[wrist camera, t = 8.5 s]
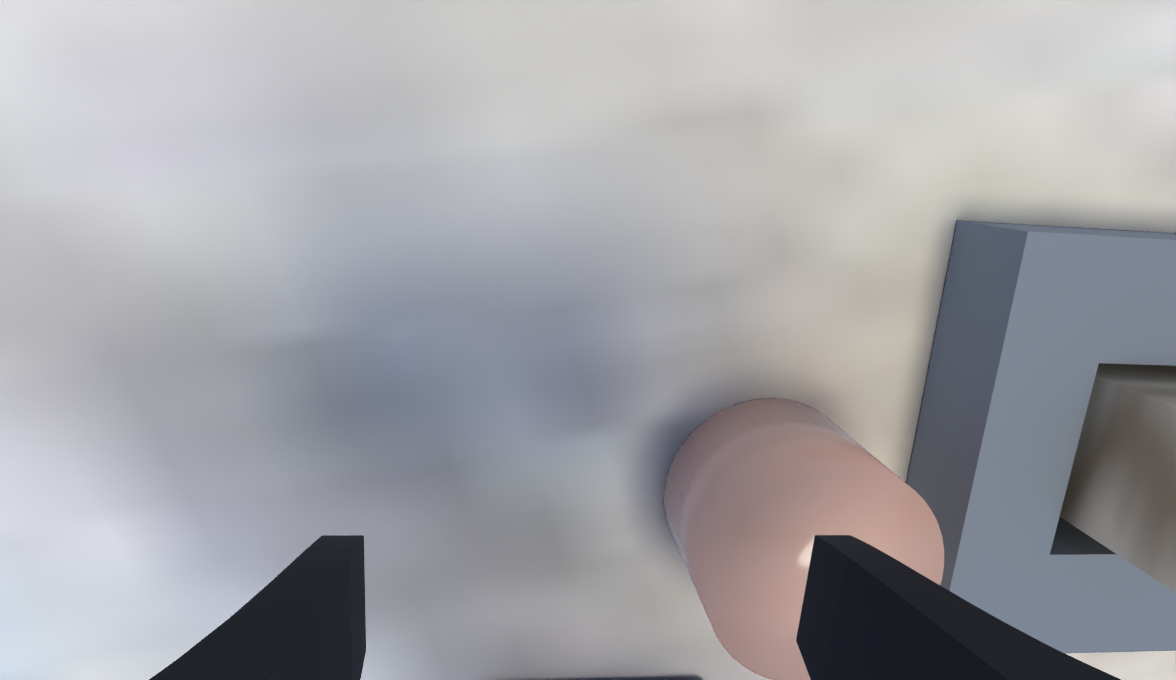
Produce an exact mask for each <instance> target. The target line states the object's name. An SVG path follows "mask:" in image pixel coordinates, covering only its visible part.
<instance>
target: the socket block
mask: <svg viewBox="0 0 1176 680" xmlns="http://www.w3.org/2000/svg"><path fill="white" fill-rule="evenodd" d="M1099 363H1108V364H1140V365H1172V366H1176V233H1161V232H1144V231H1127V230H1110V229H1092V228H1075V227H1058V226H1041V225H1023V224H1006V223H989V222H972V221H957V224H956V230H955V235H954V240H953V245H952V250H951V255H950V261H949V266H948V271H947V276H946V281H945V286H944V292H943V297H942V302H941V307H940V312H939V318H938V323H937V328H936V333H935V338H934V343H933V349H932V354H931V359H930V364H929V369H928V374H927V380H926V385H925V390H924V395H923V400H922V405H921V411H920V416H919V421H918V426H917V431H916V437H915V442H914V447H913V452H912V457H911V462H910V468H909V473H908V478H907V483H906V484H908V485H909V486H910V487H911V488H913V489H914V490H915V491H916V492H917V493H918V494H919V495H920V496H921V497H922V498H923V499H924V500H925V502H926V503H927V505H928V506H929V507H930V509H931V510H932V512H933V514H934V516H935V518H936V520H937V522H938V524H939V528H940V531H941V534H942V538H943V545H944V569H943V576H942V581H941V584H940V586H942V587H944V588H945V589H947V590H949V591H950V592H952V593H954V594H956V595H957V596H959V597H961V598H962V599H964V600H966V601H968V602H969V603H971V604H973V605H975V606H976V607H978V608H980V609H982V610H983V611H985V612H987V613H989V614H991V615H992V616H994V617H996V618H998V619H1000V620H1001V621H1003V622H1005V623H1007V624H1009V625H1011V626H1013V627H1014V628H1016V629H1018V630H1020V631H1022V632H1024V633H1026V634H1028V635H1029V636H1031V637H1033V638H1035V639H1037V640H1039V641H1041V642H1043V643H1045V644H1046V645H1048V646H1050V647H1052V648H1054V649H1056V650H1058V651H1060V652H1062V653H1096V652H1135V651H1174V650H1176V593H1175V592H1173V591H1172V590H1170V589H1169V588H1167V587H1166V586H1164V585H1163V584H1161V583H1160V582H1158V581H1157V580H1155V579H1154V578H1152V577H1151V576H1149V575H1148V574H1146V573H1145V572H1143V571H1142V570H1140V569H1139V568H1137V567H1135V566H1134V565H1132V564H1131V563H1129V562H1128V561H1126V560H1125V559H1123V558H1122V557H1120V556H1119V555H1117V554H1116V553H1114V552H1113V551H1111V550H1110V549H1108V548H1107V547H1105V546H1104V545H1102V544H1100V543H1099V542H1097V541H1096V540H1094V539H1093V538H1091V537H1090V536H1088V535H1087V534H1085V533H1084V532H1082V531H1081V530H1079V529H1078V528H1076V527H1075V526H1073V525H1072V524H1070V523H1069V522H1067V521H1066V520H1064V519H1062V518H1061V517H1060V513H1061V509H1062V505H1063V501H1064V497H1065V493H1066V489H1067V485H1068V482H1069V478H1070V474H1071V470H1072V466H1073V462H1074V458H1075V454H1076V450H1077V446H1078V443H1079V439H1080V435H1081V431H1082V427H1083V423H1084V419H1085V415H1086V411H1087V407H1088V403H1089V400H1090V396H1091V392H1092V388H1093V384H1094V380H1095V376H1096V372H1097V368H1098V364H1099Z"/></svg>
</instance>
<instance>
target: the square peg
mask: <svg viewBox="0 0 1176 680" xmlns="http://www.w3.org/2000/svg"><path fill="white" fill-rule="evenodd" d="M1060 517H1061V518H1062V519H1064V520H1066V521H1067V522H1069V523H1070V524H1072V525H1073V526H1075V527H1076V528H1078V529H1079V530H1081V531H1082V532H1084V533H1085V534H1087V535H1088V536H1090V537H1091V538H1093V539H1094V540H1096V541H1097V542H1099V543H1100V544H1102V545H1104V546H1105V547H1107V548H1108V549H1110V550H1111V551H1113V552H1114V553H1116V554H1117V555H1119V556H1120V557H1122V558H1123V559H1125V560H1126V561H1128V562H1129V563H1131V564H1132V565H1134V566H1135V567H1137V568H1139V569H1140V570H1142V571H1143V572H1145V573H1146V574H1148V575H1149V576H1151V577H1152V578H1154V579H1155V580H1157V581H1158V582H1160V583H1161V584H1163V585H1164V586H1166V587H1167V588H1169V589H1170V590H1172V591H1173V592H1175V593H1176V366H1172V365H1140V364H1108V363H1099V364H1098V368H1097V372H1096V376H1095V380H1094V384H1093V388H1092V392H1091V396H1090V400H1089V403H1088V407H1087V411H1086V415H1085V419H1084V423H1083V427H1082V431H1081V435H1080V439H1079V443H1078V446H1077V450H1076V454H1075V458H1074V462H1073V466H1072V470H1071V474H1070V478H1069V482H1068V485H1067V489H1066V493H1065V497H1064V501H1063V505H1062V509H1061V513H1060Z"/></svg>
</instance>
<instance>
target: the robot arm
mask: <svg viewBox="0 0 1176 680" xmlns="http://www.w3.org/2000/svg"><path fill="white" fill-rule="evenodd" d="M796 642H797V644H798V647H799V650H800V652H801V655H802V658H803V660H804V663H805V666H806V669H807V671H808V674H809V676H810V679H811V680H1120V679H1118V678H1116V677H1114V676H1112V675H1109V674H1107V673H1105V672H1103V671H1101V670H1099V669H1096V668H1094V667H1092V666H1090V665H1088V664H1086V663H1083V662H1081V661H1079V660H1077V659H1075V658H1073V657H1071V656H1069V655H1067V654H1065V653H1062V652H1060V651H1058V650H1056V649H1054V648H1052V647H1050V646H1048V645H1046V644H1045V643H1043V642H1041V641H1039V640H1037V639H1035V638H1033V637H1031V636H1029V635H1028V634H1026V633H1024V632H1022V631H1020V630H1018V629H1016V628H1014V627H1013V626H1011V625H1009V624H1007V623H1005V622H1003V621H1001V620H1000V619H998V618H996V617H994V616H992V615H991V614H989V613H987V612H985V611H983V610H982V609H980V608H978V607H976V606H975V605H973V604H971V603H969V602H968V601H966V600H964V599H962V598H961V597H959V596H957V595H956V594H954V593H952V592H950V591H949V590H947V589H945V588H944V587H942V586H940V585H938V584H937V583H935V582H933V581H932V580H930V579H928V578H927V577H925V576H923V575H922V574H920V573H918V572H916V571H915V570H913V569H911V568H910V567H908V566H906V565H905V564H903V563H901V562H900V561H898V560H896V559H894V558H893V557H891V556H889V555H887V554H886V553H884V552H882V551H880V550H879V549H877V548H875V547H873V546H871V545H869V544H867V543H865V542H863V541H862V540H859V539H857V538H855V537H853V536H851V535H815V537H814V543H813V548H812V554H811V560H810V565H809V571H808V576H807V582H806V588H805V593H804V599H803V604H802V610H801V616H800V621H799V627H798V632H797V638H796ZM365 652H366V630H365V579H364V536H321V537H320V538H319V539H318V540H317V541H315V542H314V543H313V544H312V545H311V546H310V547H309V548H307V549H306V550H305V551H304V552H303V553H302V554H301V555H300V556H299V557H297V558H296V559H295V560H294V561H293V562H292V563H291V564H290V565H289V566H288V567H287V568H286V569H284V570H283V571H282V572H281V573H280V574H279V575H278V576H277V577H276V578H275V579H274V580H272V581H271V582H270V583H269V584H268V585H267V586H266V587H265V588H264V589H262V590H261V591H260V592H259V593H258V594H257V595H256V596H254V597H253V598H252V599H251V600H250V601H249V602H248V603H246V604H245V605H244V606H243V607H242V608H241V609H240V610H238V611H237V612H236V613H235V614H234V615H233V616H231V617H230V618H229V619H228V620H227V621H225V622H224V623H223V624H222V625H220V626H219V627H218V628H217V629H215V630H214V631H213V632H211V633H210V634H209V635H208V636H206V637H205V638H204V639H203V640H201V641H200V642H199V643H198V644H196V645H195V646H194V647H193V648H191V649H190V650H189V651H188V652H186V653H185V654H184V655H182V656H181V657H180V658H179V659H177V660H176V661H174V662H173V663H172V664H170V665H169V666H168V667H166V668H165V669H164V670H162V671H161V672H159V673H158V674H156V675H155V676H154V677H152V678H151V679H149V680H360V678H361V673H362V668H363V662H364V657H365Z"/></svg>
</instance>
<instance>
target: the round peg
mask: <svg viewBox="0 0 1176 680" xmlns="http://www.w3.org/2000/svg"><path fill="white" fill-rule="evenodd" d="M664 509H665V515H666V519H667V523H668V526H669V528H670V531H671V533H672V535H673V538H674V540H675V542H676V544H677V547H678V549H679V551H680V554H681V556H682V558H683V560H684V563H685V565H686V567H687V570H688V572H689V574H690V577H691V579H692V581H693V583H694V586H695V588H696V590H697V593H698V595H699V597H700V600H701V602H702V604H703V606H704V609H705V611H706V613H707V616H708V618H709V620H710V622H711V625H712V627H713V629H714V632H715V634H716V636H717V638H718V639H719V641H720V642H721V644H722V645H723V647H724V648H725V649H726V650H727V652H728V653H729V654H730V655H731V656H732V657H733V658H734V659H735V660H737V661H738V662H739V663H740V664H741V665H743V666H744V667H746V668H747V669H749V670H751V671H752V672H754V673H756V674H759V675H761V676H763V677H766V678H768V679H772V680H811V679H810V676H809V674H808V671H807V669H806V666H805V663H804V660H803V658H802V655H801V652H800V650H799V647H798V644H797V642H796V638H797V632H798V627H799V621H800V616H801V610H802V604H803V599H804V593H805V588H806V582H807V576H808V571H809V565H810V560H811V554H812V548H813V543H814V537H815V535H851V536H853V537H855V538H857V539H859V540H862V541H863V542H865V543H867V544H869V545H871V546H873V547H875V548H877V549H879V550H880V551H882V552H884V553H886V554H887V555H889V556H891V557H893V558H894V559H896V560H898V561H900V562H901V563H903V564H905V565H906V566H908V567H910V568H911V569H913V570H915V571H916V572H918V573H920V574H922V575H923V576H925V577H927V578H928V579H930V580H932V581H933V582H935V583H937V584H938V585H940V584H941V581H942V576H943V569H944V545H943V538H942V534H941V531H940V528H939V524H938V522H937V520H936V518H935V516H934V514H933V512H932V510H931V509H930V507H929V506H928V505H927V503H926V502H925V500H924V499H923V498H922V497H921V496H920V495H919V494H918V493H917V492H916V491H915V490H914V489H913V488H911V487H910V486H909V485H908V484H906V483H905V482H904V481H903V480H902V479H900V478H899V477H898V476H897V475H896V474H894V473H893V472H892V471H891V470H890V469H888V468H887V467H886V466H885V465H884V464H882V463H881V462H880V461H879V460H878V459H876V458H875V457H874V456H873V455H871V454H870V453H869V452H868V451H867V450H865V449H864V448H863V447H862V446H861V445H859V444H858V443H857V442H856V441H855V440H853V439H852V438H851V437H850V436H849V435H847V434H846V433H845V432H844V431H842V430H841V429H840V428H839V427H838V426H836V425H835V424H834V423H833V422H832V421H830V420H829V419H828V418H827V417H825V416H824V415H823V414H821V413H820V412H819V411H817V410H815V409H813V408H811V407H809V406H807V405H804V404H802V403H799V402H796V401H791V400H787V399H777V398H764V399H755V400H749V401H745V402H742V403H738V404H735V405H732V406H730V407H728V408H726V409H723V410H721V411H719V412H718V413H716V414H714V415H713V416H711V417H710V418H708V419H707V420H706V421H704V422H703V423H702V424H700V425H699V426H698V427H697V428H696V429H695V430H694V431H693V432H692V433H691V434H690V435H689V436H688V437H687V439H686V440H685V441H684V442H683V444H682V445H681V447H680V448H679V450H678V451H677V453H676V455H675V457H674V459H673V461H672V463H671V465H670V468H669V471H668V474H667V477H666V482H665V488H664Z"/></svg>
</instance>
